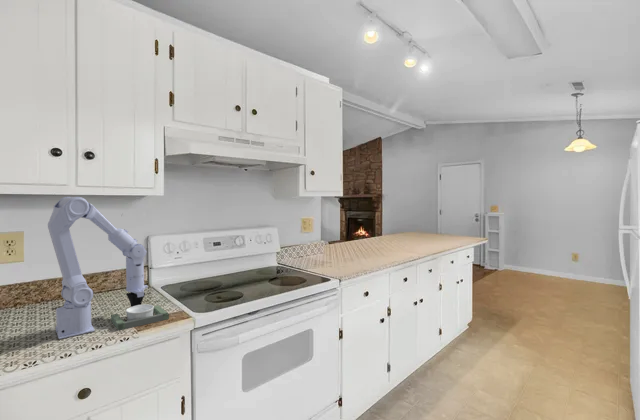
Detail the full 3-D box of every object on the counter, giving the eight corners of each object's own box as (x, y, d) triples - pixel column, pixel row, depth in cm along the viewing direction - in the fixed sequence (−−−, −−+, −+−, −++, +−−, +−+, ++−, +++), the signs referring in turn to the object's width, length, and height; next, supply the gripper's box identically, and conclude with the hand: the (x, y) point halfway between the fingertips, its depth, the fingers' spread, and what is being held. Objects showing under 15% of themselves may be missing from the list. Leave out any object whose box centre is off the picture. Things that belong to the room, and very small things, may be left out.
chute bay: (118, 330, 114) (118, 324, 113) (111, 320, 123) (110, 314, 122) (168, 318, 124) (168, 313, 124) (158, 310, 133) (158, 305, 133)
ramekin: (141, 325, 118) (141, 313, 117) (120, 323, 120) (119, 311, 120) (159, 316, 126) (159, 305, 126) (139, 314, 128) (138, 303, 128)
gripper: (152, 277, 124) (153, 314, 125) (141, 270, 135) (142, 304, 135) (130, 280, 119) (131, 319, 120) (121, 273, 130) (122, 308, 131)
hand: (136, 311), depth 127 cm, fingers closed
